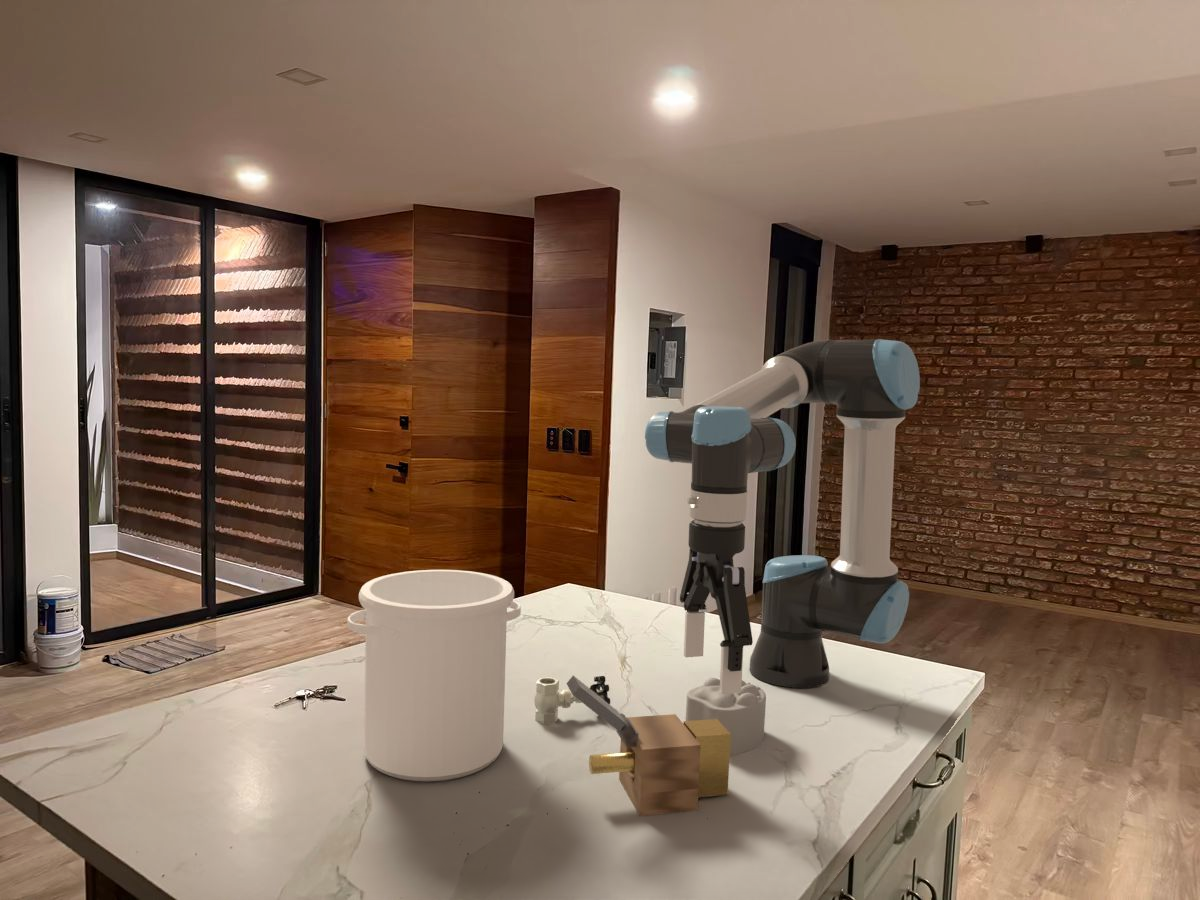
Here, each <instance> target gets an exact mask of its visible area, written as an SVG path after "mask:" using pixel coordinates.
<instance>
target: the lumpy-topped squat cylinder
mask: <svg viewBox="0 0 1200 900" xmlns="http://www.w3.org/2000/svg"><path fill="white" fill-rule="evenodd" d="M766 702H767V694H766V693H765V691H764V689H763V688H762V687H760V686H758V685H755V684H751V683H750V682H748V683H746V682H745V681H744V680H743V679H742V686H741V693H733V694H721V693H720V678H719V679H718V678H716V677H710V678H708V679H706V680H705V681H704V683H703V684H702V685H699V686H697V687H694V688H691V689H690V690H688V692H687V694H686V705H685V707H686V708H685V721H695V720H709V719H717V720H718V721H719V722H720V723H721V724H722V725H723V726H724V727H725V728H726V729H727V730H728V732H729V733H730V734H731V740H730V757H732V756H736V755H739V754H743V753H747V752H749V751H752V750H754V749H757V748H759V747H760V746H761V745H762V744H763V741H764V739H765V738H764V737H765V723H766V722H765V721H766V707H767V706H766V704H767V703H766Z"/></svg>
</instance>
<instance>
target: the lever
mask: <svg viewBox="0 0 1200 900" xmlns="http://www.w3.org/2000/svg"><path fill="white" fill-rule="evenodd" d="M565 684H566V686H567V687H568V690H569V692H570V693H572V694H573V696H575V697H576V698H577V699H578V700H580V701H581V702H582V703H581V704H584V705H585V706H586V707H588V709H590V710H591V711H592V712H594V713H595V714H596V715H597V716H599V717H600V718H601V719H602V720H604V721H605V722H606V723H608V724H609V725H610V726H611V727H613V728H614V729H615V730H616V732H617V731H620V730H621V729H622V728H623V726H624V725H625V724H626V723H625V721H624V720H623V718H622V717H621V715H620V712H619V711H618V710H617V709H616V708H614V707H613V705H611V703H610V704H608V703H607V702H606V701H605V700H603V699H602V698H601V697H600V696H598V695H597V694H596V693H595V692H593V691H592V690H591V689H590V687H589V686H587V685H586V684H585V683H584V682H582V681H581V680H579V679H578V678H577V677H576V676H575V675H572V676H571V677H570V679H568V680H567V682H566V683H565Z"/></svg>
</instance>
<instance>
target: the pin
mask: <svg viewBox="0 0 1200 900" xmlns="http://www.w3.org/2000/svg"><path fill="white" fill-rule="evenodd" d="M682 723H683V724H684V725H685V726H686V728H687V729H688V730H689V731H690V733H691V734H692V735H693V736H694V738H695V739H696V740H697V741H698V742H699V744H700V745H701V748H700V767H699V786H698V798H703V797H715V796H727V795H728V793H729V789H728V788H729V776H730V775H729V773H730V757H731V756H730V740H731V734H730V733H729V732H728V730H727V729H726V728H725V727H724V726H723V725H722V724H721V723H720V722H719V721H718V720H717V719H709V720H695V721H686V720H684V721H683V722H682ZM588 758H589V759H588V767H589V772H590V775H597V774H599V775H600V774H609V773H612V774H613V773H619V772H624V771H634V770H635V753H634V752H624V753H620V752H616V753H615V752H613V753H600V754H599V753H598V754H590V755H589V757H588Z"/></svg>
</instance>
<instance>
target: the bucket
mask: <svg viewBox="0 0 1200 900" xmlns="http://www.w3.org/2000/svg"><path fill="white" fill-rule="evenodd" d="M512 585H513V584H511V583H510V582H509V581H507V580H505V579H504V578H502V577H499V576H497V575H494V574H488V573H483V572H477V571H470V570H461V569H459V570H458V569H425V570H424V569H421V570H420V569H419V570H412V571H411V570H409V571H403V572H402V571H401V572H397V573H396V572H395V573H391V574H387V575H382V576H379V577H376V578H373V579H371V580H369V581H366V582H365V583H364V584H363V585H362V586H361V588H360V589H359V593H358V601H359V603H360V605H361V607H362V608H364V609H361V610H358V611H357V610H356V611H355V612H352V613H350V614H349V615H348V617H347V626H346V627H347V629H348V630H350V631H352V632H354V633H355V634H360V635H364V636H365V649H364V652H365V654H364V655H365V657H364V658H365V659H364V725H363V726H364V727H363V728H364V729H363V731H364V732H363V733H364V734H363V741H364V742H363V751H364V755H365V757H366V760H367V762H368V763H369V764H370V766H371V767H373V769H375V770H377V771H379V772H380V773H382V774H384V775H387V776H388V777H392V778H395V779H399V780H404V781H411V782H424V783H426V782H429V783H431V782H442V781H449V780H456V779H460V778H464V777H467V776H469V775H473V774H475V773H477V772H479V771H481V770H483V769H485V768H487V767H488V766H489V765H491V764H493V763H494V761H496V760H497V758H498V757H499V755H500V754H501V751H502V748H503V746H504V729H505V728H504V726H505V725H504V724H505V694H506V693H505V692H506V691H505V689H506V687H505V686H506V658H507V657H506V656H507V654H506V652H507V624H508V623H507V622H510V621H512V620H515V619H518V618H519V617H520V616H521V613H522V608H521V607H522V606H521V604H520V603H519V602H517V601H515V600H514V598H515V590H514V587H513V586H512ZM509 608H510V609H512V610H510V611H508V609H509ZM364 619H365V624H362V623H356V622H358V621H360V620H364Z"/></svg>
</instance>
